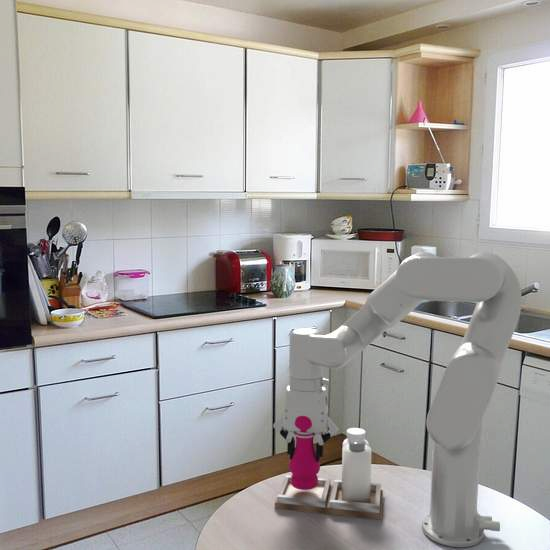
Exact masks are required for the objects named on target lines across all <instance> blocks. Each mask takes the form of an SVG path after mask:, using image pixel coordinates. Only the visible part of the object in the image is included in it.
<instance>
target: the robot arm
mask: <svg viewBox="0 0 550 550" xmlns="http://www.w3.org/2000/svg"><path fill="white" fill-rule="evenodd" d="M520 285H521V284H520V282H519V279H518V277H517V275H516V273H515V272H514V270H513V268H512V267H511V266H510V265H509V264H508V263H507V261H506V260H504V259H503V257H501V256H499V255H497V254H495V253H493V252H488V251H487V252H486V251H482V252H477V253H475V254H473V255H471V256H470V257H443V256H442V257H441V256H440V257H439V256H438V255H436V254H434V253H432V252H427V251H421V252H417V253H415V254H413V255H411V256H409V257H406V258H405V259H404V260H402V262H401V263H400V264H399V266H398V267H397V269H396V270H395V271H394V272H393V273H392V274H391V275H390V276H389V277H388V278H386V279H385V280H384V281H383V282H382V283H381V284H380V285H378V286H377V287H376V288H375V289H374V290H373V291H372V292H370V294H368V296H367V297H366V301H364V304H363V305H362V306H361V307H360V309H358V310H357V311H356V312H355V313H354V314H353V315H352V316H351V317H349V319H348V320H346V321H345V322H344V323H343V324H342V325H341V326H339V327H338V328H337V329H335V330H333V331H332V332H329V333H327V334H324V335H323V334H322V332H321V331H320V330H319V329H315V328H308V327H307V328H306V327H305V328H297V329H294V330H292V331H291V332H290V334H289V360H288V361H289V372H288V373H289V378H288V381H289V384H288V385H287V387H286V390H285V393H284V394H285V395H284V401H283V402H284V403H283V412H282V413H283V414H282V415H281V416H280V417H279V418H278V419H276V421H275V422H274V423H273V425H272V427H273V429H275V431H277V432H278V433H279V434H280V435H281V436H282V437H283V438H284V440H285V443H287V445H286V447H287V449H286V450H287V455H289V460H290V459H292V458H293V453H294V450H295V447H296V438H295V437H294V436H295V435H294V432H296V431H299V432H301V430H300V429H299V428H297V427H296V426H295V420H296V418H297V417H299V416H307V417H308V418H310V420H311V421H312V427H311V428H310V429H308V430H307V431H306V432H311V433H315V437H316V438H315V439H316V440H317V442H316V445H315V452H316V461H317V462H320V459H321V458H323V457H324V444H325V443H326V442H327V441H328V440H329V439H331V437H333V436H334V435H336V434H337V433H338V432H339V427H338V426H337V424H335V422H334V421H332V419H331V418H330V417H329V406H328V405H329V404H328V395H327V389H326V387H325V386H329V381H330V379H327V378H324V376H323V368H327V369H333V370H337V369H341V368H344V367H345V366H346V365H347V364H349V363H350V362H351V361H352V360H353V359H355V358H356V357H357V356H358V355H360V353H361V352H363V351H364V350H365V349H366V348H367V347H369V345H371V344H372V343H373V342H374V341H375V340H377V339H378V338H379V337H380V336H381V335H382V334H383V333H385V332H386V331H388V330H389V329H391V328H394V327H395V326H396V325H397V324H399V322H401V321H402V320H403V319H404V318H406V316H408V315H409V314H410V313H411V312H412V311H414V310H415V309H416V308H417V307H418V306H419V305H420V304H422V303H423V302H424V301H434V302H435V301H436V302H461V303H465V302H466V303H475V304H476V305H475V306H474V309H473V312H472V315H471V318H470V320H469V323H468V326H467V329H466V330H465V334H464V336H463V338H462V340H461V343H460V344H459V347H458V349H456V351H455V352H454V354H453V355H452V357H451V358H450V360H449V361H448V363H447V366H446V368H445V371H444V373H443V375H442V378H441V380H440V382H439V385H438V388H437V390H436V393H435V395H434V398H433V400H432V402H431V405H430V407H429V410H428V413H427V415H426V416H427V417H426V420H425V421H426V422H425V423H426V430H427V432H428V435H429V436H430V439H432V455H431V456H432V457H431V478H430V481H431V482H430V502H429V503H430V504H429V507H430V509H429V514H428V515H426V516H425V517H424V518H423V519H422V522H421V529H422V531H423V533H424V534H425V535H426V537H428V538H429V539H431V540H432V541H434V542H436V543H438V544H441V545H443V546H447V547H453V548H468V547H474V546H476V545H478V544H480V543H481V542H482V540H483V539H484V531H485V530H486V531H490V532H500V531H501V523H500V521H496V520H493V517H492V516H490V515H481V513H480V514H479V511H478V496H479V495H478V494H479V491H478V490H479V476H480V475H479V473H480V461H481V460H480V459H481V444H482V443H481V441H482V431H483V422H484V421H483V418H484V415H485V413H486V412H487V408H488V406H489V404H490V401H491V399H492V396H493V394H494V392H495V389H496V386H497V384H498V381H499V378H500V374H501V370H502V364H503V361H504V358H505V355H506V353H507V350H508V348H509V346H510V344H511V340H512V337H513V335H514V332H515V329H516V327H517V324H518V322H519V319H520V315H521V311H522V304H523V303H522V300H523V299H522V298H523V297H522V289H521V286H520ZM327 427H328V428H329V430H327Z"/></svg>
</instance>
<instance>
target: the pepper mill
mask: <svg viewBox="0 0 550 550" xmlns="http://www.w3.org/2000/svg"><path fill="white" fill-rule="evenodd" d="M295 426H296V427H297V428H299V429H300V430H301V432H299V431H296V432H294V435H293V436H295V450H294V453H293V458H292V459H290V458H289V465H288V470H289V471H290V473H291V485H292V486H293V487H294V488H297V489H300V490H310V489H313V488H315V487H316V486H317V485H318V478H319V477H318V473H319V472H320V470H321V469H320V468H321V462H320V461H319V462H317V461H316V448H315V446H314V437H316V435H315V433H311V432H306V431H307V430H308V429H310V428H311V427H312V421H311V420H310V418H308V417H307V416H299V417H297V418H296V420H295Z"/></svg>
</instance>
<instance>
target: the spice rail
mask: <svg viewBox="0 0 550 550" xmlns="http://www.w3.org/2000/svg"><path fill="white" fill-rule="evenodd" d="M291 476H292V474H291V475H289V474H288V475H287V474H285V475H284V478H283V481H282V483H281V486H280V488H279V490H278V492H277V493H278V494H277V495H276V499H275V500H274V509H276V510H283V511H284V510H287V511H296V512H305V513H315V514H322V515H323V514H324V515H333V516H342V517H343V516H345V517H354V518H361V519H362V518H363V519H371V520H373V519H374V520H382V513H383V497H384V490H383V489H382V484H381V483H375V482H371V493H370V502H369V503H360V502H350V501H343V500H342V479H334V481H333V484H331V479H330V478H323V477H322V478H321V477H318V485H317V486H316V487H315V488H313V489H310V490H300V489H297V488H294V487H293V486H292V485H291Z"/></svg>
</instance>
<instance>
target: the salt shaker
mask: <svg viewBox="0 0 550 550" xmlns="http://www.w3.org/2000/svg"><path fill="white" fill-rule="evenodd" d="M342 446H343V445H342ZM341 450H342V451H341V453H342V455H341V458H342V459H341V480H342V500H343V501H350V502H360V503H369V502H370V493H371V483H372V480H371V479H372V448H371V446H370V445H369V446H367V445H365V442H364V441H363V440H359V439H353V440H350V441H349V444H347V445H345V446H343V448H342V449H341Z"/></svg>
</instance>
